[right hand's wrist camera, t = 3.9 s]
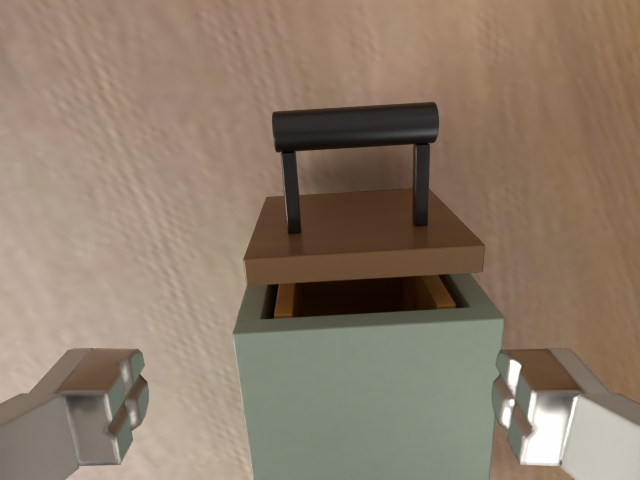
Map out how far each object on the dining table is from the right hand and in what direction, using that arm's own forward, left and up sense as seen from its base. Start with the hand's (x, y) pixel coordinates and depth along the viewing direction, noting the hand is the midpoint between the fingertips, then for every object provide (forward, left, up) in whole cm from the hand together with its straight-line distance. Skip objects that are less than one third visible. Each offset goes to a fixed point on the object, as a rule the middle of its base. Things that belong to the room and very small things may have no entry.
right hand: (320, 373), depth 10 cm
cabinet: (+12, -7, -18) cm, 23 cm away
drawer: (+7, -3, -17) cm, 19 cm away
